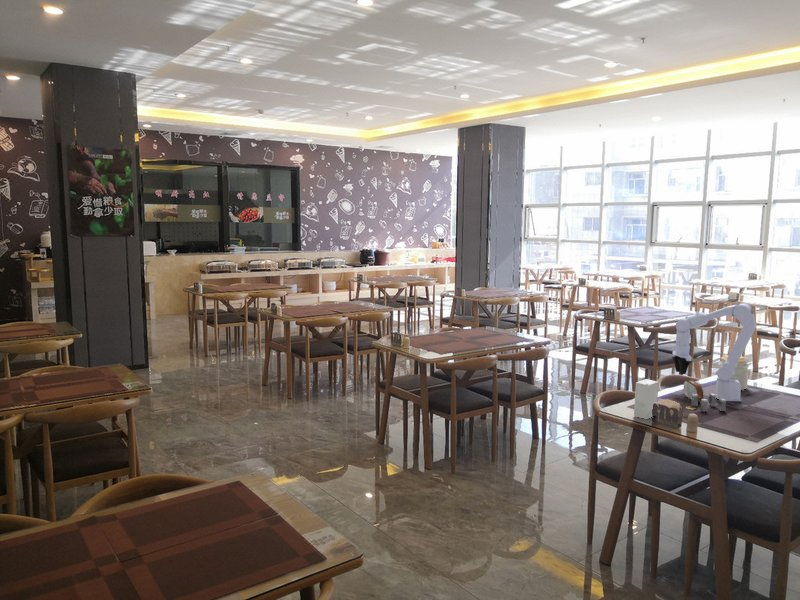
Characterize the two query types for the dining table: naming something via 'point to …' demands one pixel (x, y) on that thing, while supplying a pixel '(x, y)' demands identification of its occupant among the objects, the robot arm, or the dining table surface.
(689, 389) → the bread slice
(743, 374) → the jar
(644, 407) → the skincare box
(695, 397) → the collar
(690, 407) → the brass mark
